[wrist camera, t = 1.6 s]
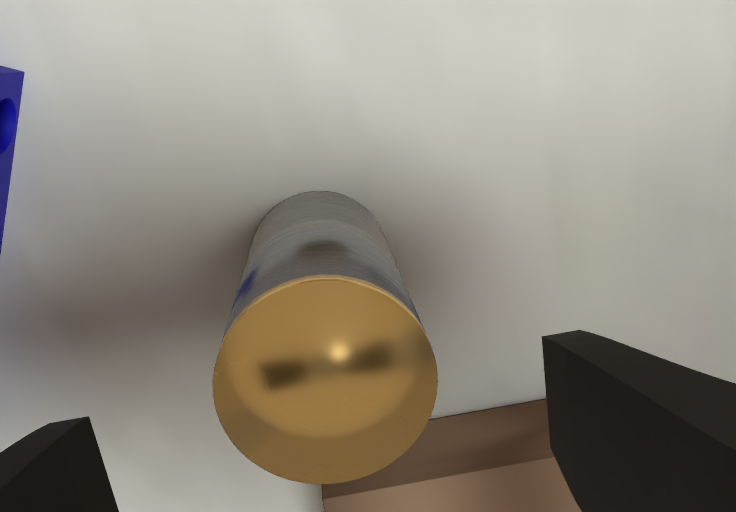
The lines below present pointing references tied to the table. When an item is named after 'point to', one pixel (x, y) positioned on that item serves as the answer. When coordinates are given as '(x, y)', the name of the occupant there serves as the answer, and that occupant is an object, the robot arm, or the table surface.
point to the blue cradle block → (8, 131)
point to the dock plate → (467, 469)
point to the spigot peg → (323, 347)
